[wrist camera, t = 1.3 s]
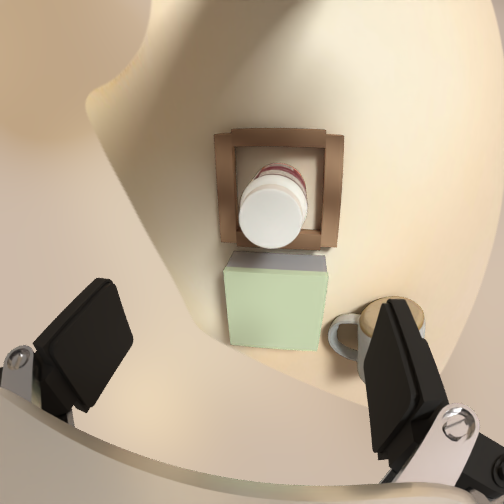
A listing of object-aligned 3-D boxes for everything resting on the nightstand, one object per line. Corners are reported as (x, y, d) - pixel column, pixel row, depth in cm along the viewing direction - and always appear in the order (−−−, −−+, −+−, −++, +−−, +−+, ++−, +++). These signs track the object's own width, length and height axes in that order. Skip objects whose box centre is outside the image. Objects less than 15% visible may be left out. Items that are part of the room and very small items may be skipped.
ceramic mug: (415, 285, 27) (437, 332, 20) (412, 338, 30) (427, 385, 23) (322, 303, 30) (323, 355, 23) (332, 353, 33) (333, 403, 26)
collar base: (217, 129, 23) (213, 130, 22) (342, 130, 22) (344, 131, 21) (224, 240, 28) (221, 245, 27) (334, 245, 26) (336, 251, 25)
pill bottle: (280, 223, 26) (271, 268, 19) (242, 187, 26) (217, 220, 18) (317, 188, 24) (324, 221, 17) (278, 150, 23) (268, 166, 16)
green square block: (233, 250, 29) (223, 270, 25) (325, 255, 27) (328, 276, 24) (238, 320, 33) (230, 344, 29) (316, 326, 31) (317, 351, 28)
